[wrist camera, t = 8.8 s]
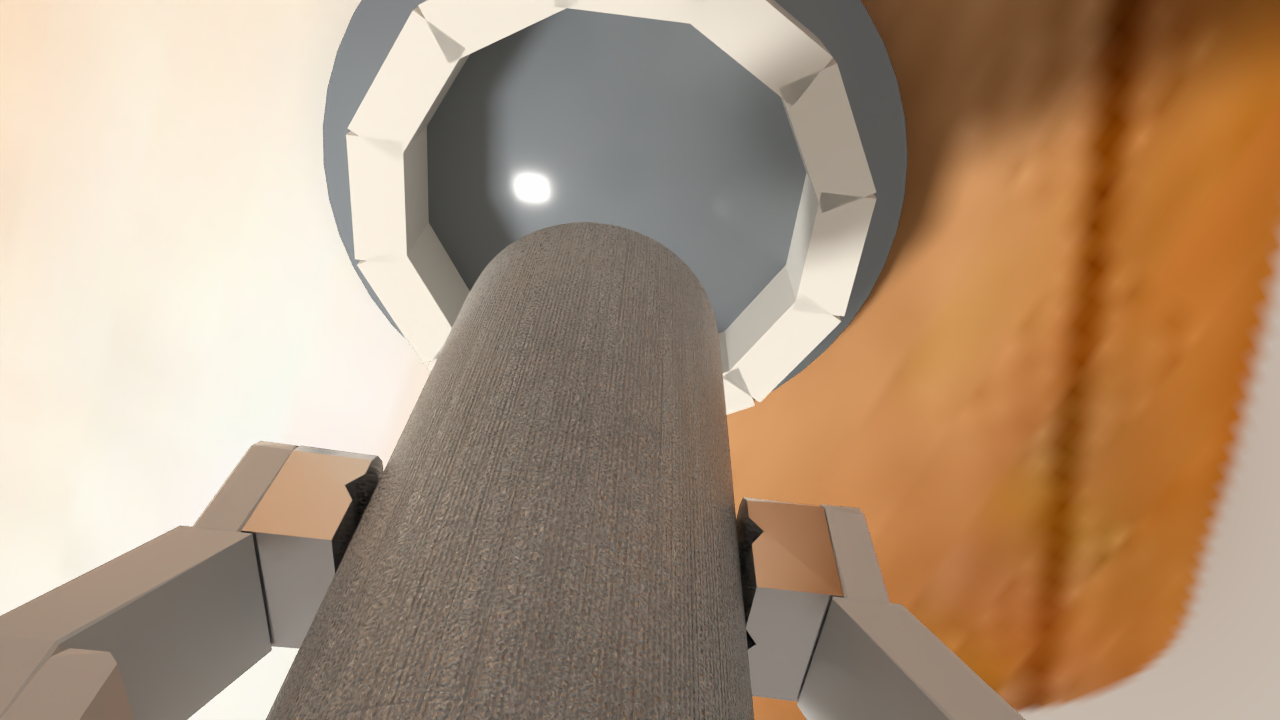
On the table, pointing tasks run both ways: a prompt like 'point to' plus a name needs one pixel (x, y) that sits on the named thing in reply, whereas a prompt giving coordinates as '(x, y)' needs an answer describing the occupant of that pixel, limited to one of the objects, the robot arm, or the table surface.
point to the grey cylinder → (549, 511)
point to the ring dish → (623, 155)
